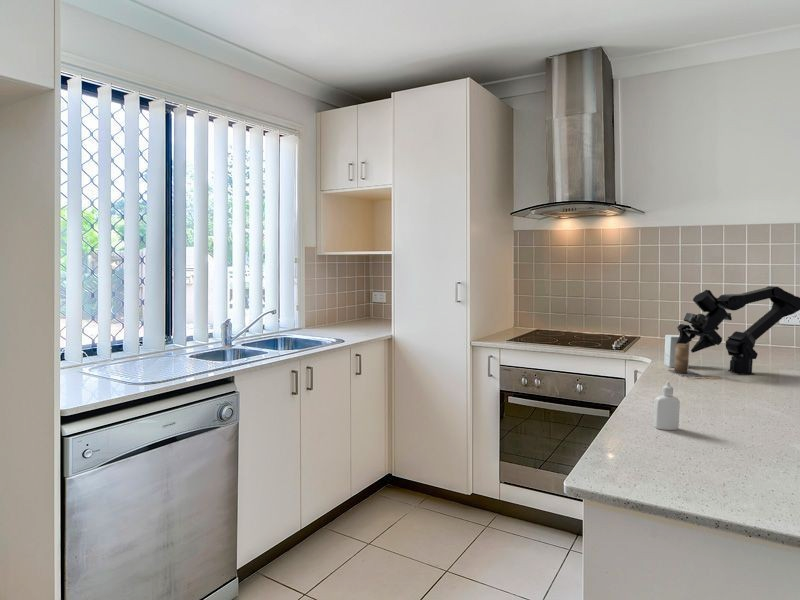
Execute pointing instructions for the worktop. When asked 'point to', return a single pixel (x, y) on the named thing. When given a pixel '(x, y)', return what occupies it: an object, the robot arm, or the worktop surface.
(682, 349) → the pin
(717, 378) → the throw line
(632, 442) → the worktop surface
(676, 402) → the eye dropper bottle
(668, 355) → the supplement box
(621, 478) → the worktop surface
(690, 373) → the mat
